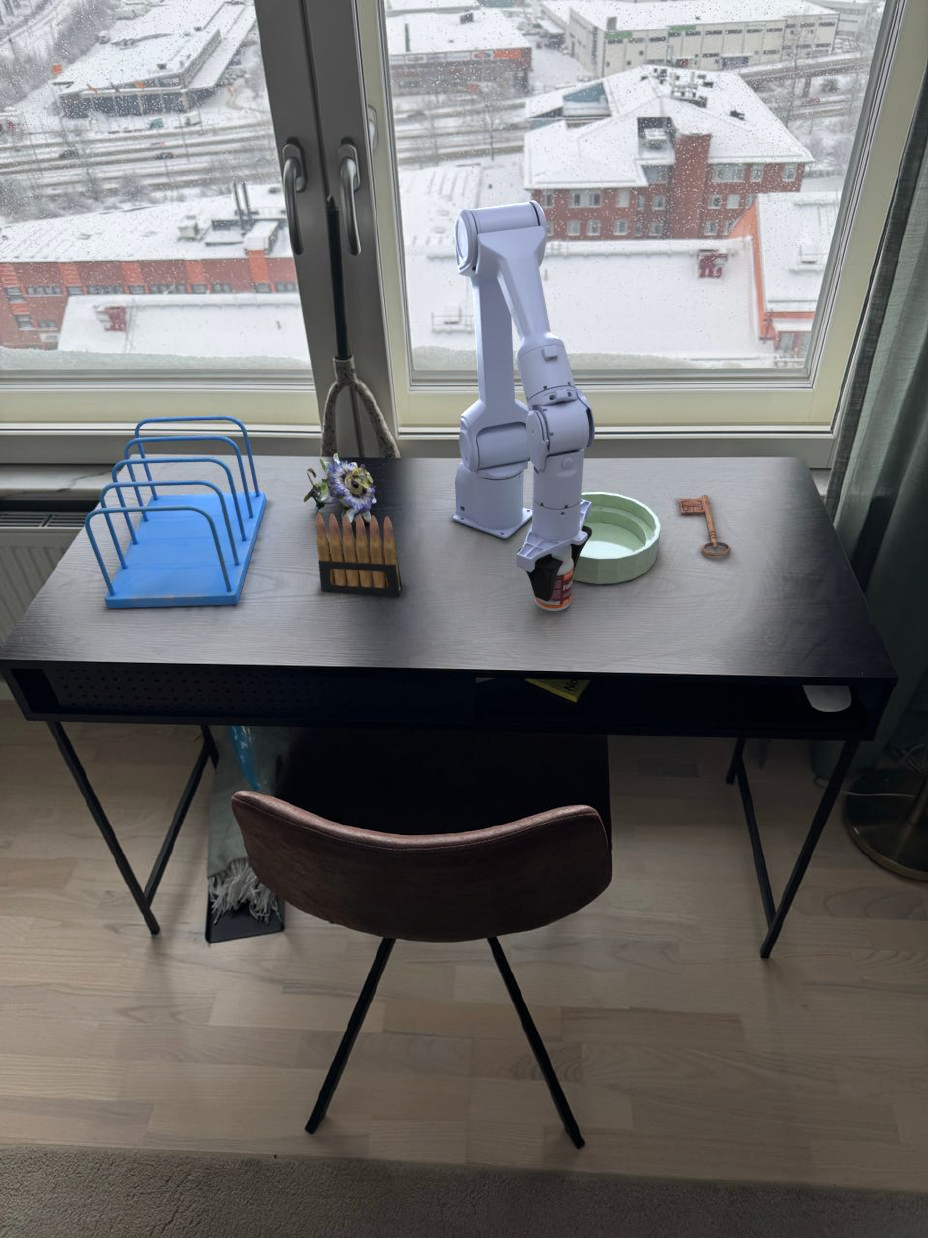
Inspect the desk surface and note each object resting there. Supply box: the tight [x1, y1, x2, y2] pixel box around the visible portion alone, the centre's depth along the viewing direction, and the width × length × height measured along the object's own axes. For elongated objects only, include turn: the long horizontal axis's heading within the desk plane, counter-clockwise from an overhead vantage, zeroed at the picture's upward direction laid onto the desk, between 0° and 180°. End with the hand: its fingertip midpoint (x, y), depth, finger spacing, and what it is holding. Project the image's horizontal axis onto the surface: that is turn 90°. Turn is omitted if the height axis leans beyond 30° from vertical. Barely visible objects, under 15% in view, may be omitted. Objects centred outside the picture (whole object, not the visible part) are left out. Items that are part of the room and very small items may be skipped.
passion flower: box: [303, 453, 377, 526], centre depth 136 cm, size 11×11×12 cm
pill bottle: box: [534, 545, 574, 612], centre depth 118 cm, size 5×5×8 cm
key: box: [678, 494, 731, 558], centre depth 133 cm, size 6×1×15 cm
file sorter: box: [84, 414, 268, 609], centre depth 127 cm, size 25×17×15 cm
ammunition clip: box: [315, 512, 403, 597], centre depth 121 cm, size 11×2×12 cm, turn 83°
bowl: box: [573, 491, 662, 585], centre depth 129 cm, size 16×16×4 cm
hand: (553, 587), depth 119 cm, fingers closed on pill bottle, 5 cm apart
